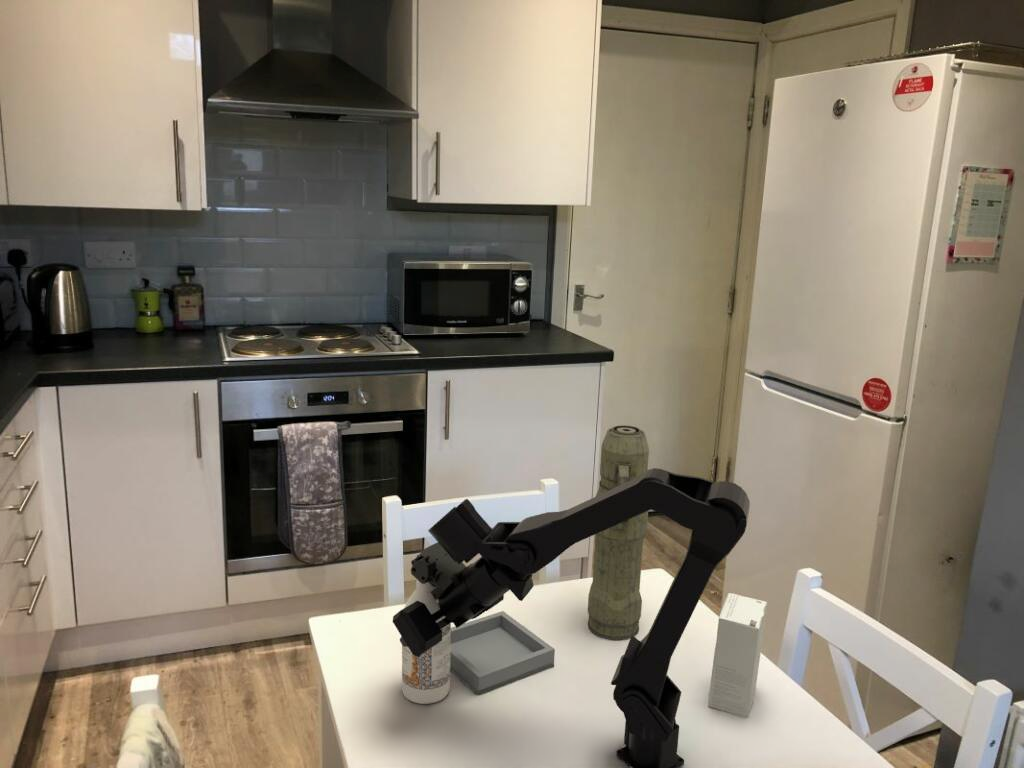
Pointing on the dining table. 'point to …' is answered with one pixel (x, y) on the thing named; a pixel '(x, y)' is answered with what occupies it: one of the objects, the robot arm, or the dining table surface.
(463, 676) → the grey square tray
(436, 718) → the dining table surface
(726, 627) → the skincare box
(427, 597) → the bath foam
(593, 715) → the dining table surface
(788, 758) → the dining table surface
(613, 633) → the thermos
